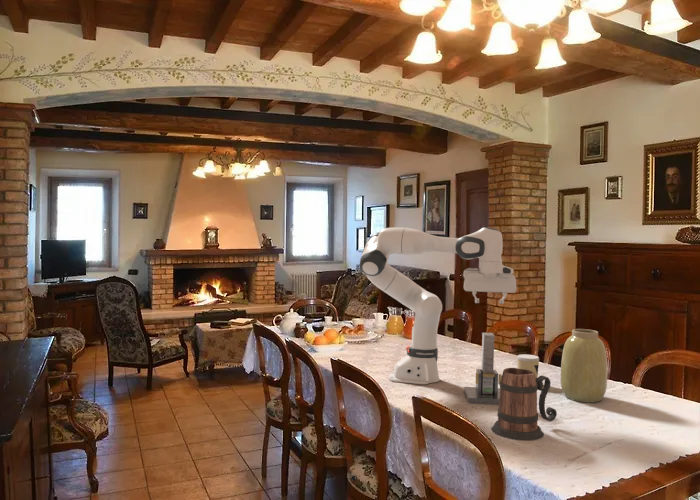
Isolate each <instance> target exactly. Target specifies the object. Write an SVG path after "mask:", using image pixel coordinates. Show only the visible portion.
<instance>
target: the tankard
mask: <svg viewBox="0 0 700 500" xmlns="http://www.w3.org/2000/svg"><path fill="white" fill-rule="evenodd" d="M501 374H502V378H501V381H500V385H499V388H500V399H499V405H498V408H497V420H496V421H495V422H494V424H492V425H491V427H490V430H491V432H492V433H494V434H495V435H497V436H499V437H501V438H505V439H508V440H514V441H521V442H522V441H525V442H527V441H528V442H530V441H536V440H537V441H538V440H541V439H543V438H544V436H545V433H544V431H543V430H542V428H541V426H539V425H538V424H539V423H538V421H539V414H540V417H541V418H542V419H543V420H546V421H548V422H553V421H555V420H556V418H557V414H558V412H557V410H556V409H555V408H552V407H550V406H548V407H545V405H546V404H545V403H546V398H547V395H548V393H549V391H550V388H551V379H550V378H549V377H547V376H546V375H538V376H537V379H536V377H535V373H534V372H533V371H530V370H525V369H518V368H517V367H507V368H505V369H503V370H502V373H501ZM538 391H540V393H539V397H538ZM545 408H546V409H545ZM538 410H539V412H538Z"/></svg>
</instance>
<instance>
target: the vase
mask: <svg viewBox="0 0 700 500" xmlns="http://www.w3.org/2000/svg"><path fill="white" fill-rule="evenodd" d="M607 357H608V356H607V351H606V346H605V344H604V342H603V340H602V339H600V338H599V331H597V330H593V329H585V328H574V329H572V330H571V335H570V336H569V337H568V338H566V340H565V343H564V345H563V349H562V354H561V361H560V362H561V363H560V387H561V390H562V393H563V394H564V396H565V397H566V398H568V399H569V400H572V401H576V402H582V403H597V402H600V401H602V399H603V398H604V397H605V394H606V393H607V385H608V360H607V359H608V358H607Z"/></svg>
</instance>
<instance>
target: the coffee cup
mask: <svg viewBox="0 0 700 500" xmlns="http://www.w3.org/2000/svg"><path fill="white" fill-rule="evenodd" d="M516 362H517V363H516V364H517V367H516V368H518V369H525V370H530V371H533V372H534V373H535V377H536V379H537V378H538V377H539V375H538V374H539V366H540V363H539V362H540V357H539V356H537V355H534V354H524V353H523V354H518V355H517V356H516Z"/></svg>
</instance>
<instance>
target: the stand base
mask: <svg viewBox="0 0 700 500" xmlns="http://www.w3.org/2000/svg"><path fill="white" fill-rule="evenodd" d="M475 370H476V372H475V386H463V387H464V388H463V392H464V396H465V398H466V400H467V404H477V405H478V404H481V405H498V406H499V399H500V387H499V386H500V381H501V378H502V374H503V373H498V372H497V370H496V369H493V374H489V373H483V377H493V394H483V393H482V392H481V375H482V373H481V371H482V368H476V369H475Z"/></svg>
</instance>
